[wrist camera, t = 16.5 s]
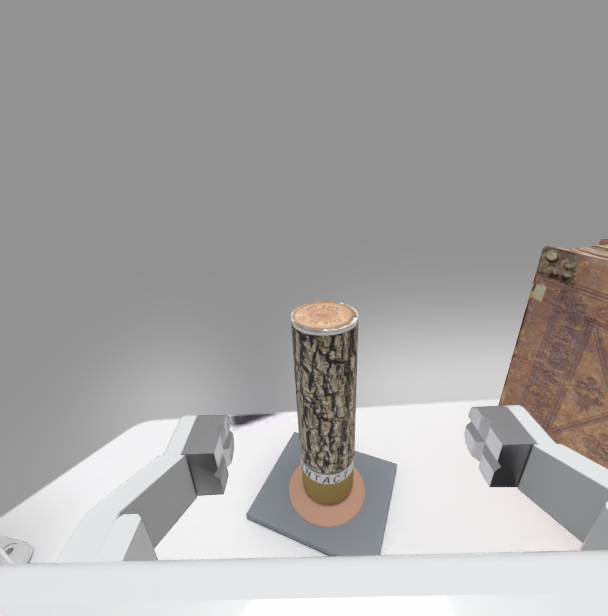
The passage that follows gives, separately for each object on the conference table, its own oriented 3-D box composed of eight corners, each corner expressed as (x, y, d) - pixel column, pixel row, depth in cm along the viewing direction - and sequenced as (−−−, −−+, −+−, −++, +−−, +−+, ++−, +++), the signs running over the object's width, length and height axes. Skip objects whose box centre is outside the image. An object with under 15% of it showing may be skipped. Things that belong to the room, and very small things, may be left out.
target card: (247, 518, 39) (246, 513, 39) (294, 435, 51) (294, 431, 51) (375, 576, 33) (375, 571, 33) (396, 467, 45) (396, 463, 45)
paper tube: (307, 457, 46) (298, 300, 36) (354, 463, 45) (359, 302, 34) (297, 501, 40) (283, 328, 30) (351, 511, 39) (356, 333, 28)
